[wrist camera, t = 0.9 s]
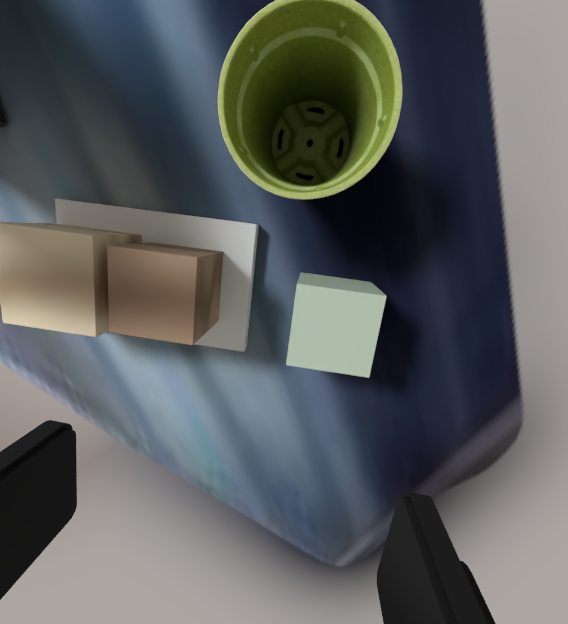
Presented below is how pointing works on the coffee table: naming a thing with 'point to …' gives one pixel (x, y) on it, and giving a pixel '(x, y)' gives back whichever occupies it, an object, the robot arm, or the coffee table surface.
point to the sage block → (335, 324)
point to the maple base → (57, 276)
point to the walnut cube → (163, 291)
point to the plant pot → (309, 96)
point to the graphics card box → (2, 117)
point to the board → (190, 233)
